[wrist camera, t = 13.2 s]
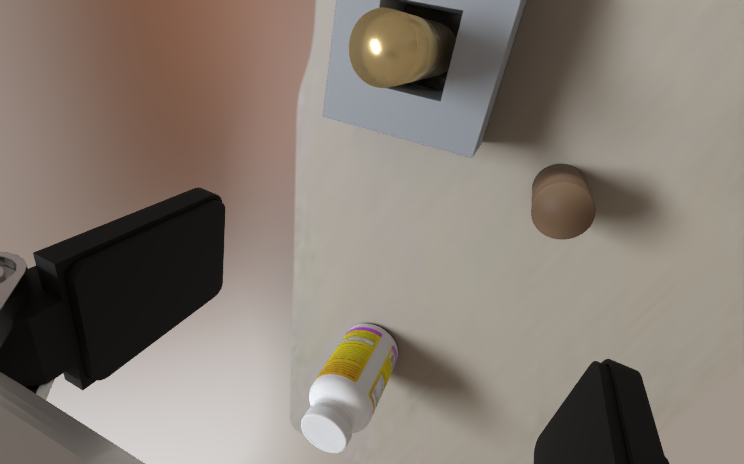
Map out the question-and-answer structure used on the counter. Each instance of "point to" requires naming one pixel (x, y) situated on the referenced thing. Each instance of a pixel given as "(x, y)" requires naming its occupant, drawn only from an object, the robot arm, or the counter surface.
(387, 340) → the supplement bottle
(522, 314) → the counter surface
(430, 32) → the tall peg
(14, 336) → the robot arm
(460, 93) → the socket block
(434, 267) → the counter surface
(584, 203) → the short peg
